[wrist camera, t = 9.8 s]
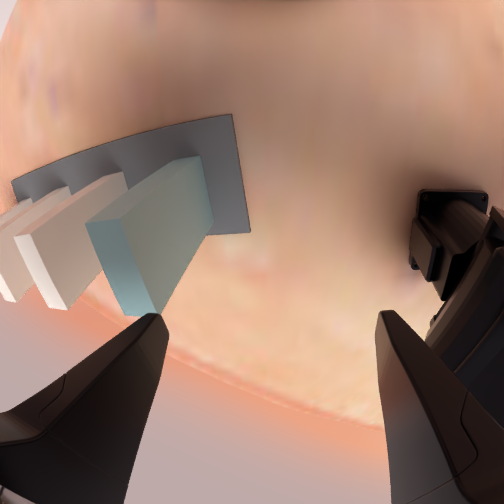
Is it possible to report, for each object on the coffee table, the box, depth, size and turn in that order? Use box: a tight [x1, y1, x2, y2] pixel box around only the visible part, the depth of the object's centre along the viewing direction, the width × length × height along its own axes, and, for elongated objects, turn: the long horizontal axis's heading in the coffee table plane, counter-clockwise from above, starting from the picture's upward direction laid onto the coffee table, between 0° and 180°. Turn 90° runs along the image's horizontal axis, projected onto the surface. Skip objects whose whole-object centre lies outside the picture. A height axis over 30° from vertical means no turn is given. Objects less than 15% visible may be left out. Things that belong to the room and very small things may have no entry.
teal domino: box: [84, 156, 214, 317], centre depth 16 cm, size 2×5×10 cm, turn 8°
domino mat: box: [11, 114, 251, 235], centre depth 21 cm, size 25×8×1 cm, turn 98°
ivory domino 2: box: [14, 172, 128, 310], centre depth 17 cm, size 2×5×10 cm, turn 9°
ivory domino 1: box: [0, 186, 71, 302], centre depth 18 cm, size 2×5×10 cm, turn 9°
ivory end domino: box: [0, 198, 33, 226], centre depth 20 cm, size 2×5×10 cm, turn 9°
